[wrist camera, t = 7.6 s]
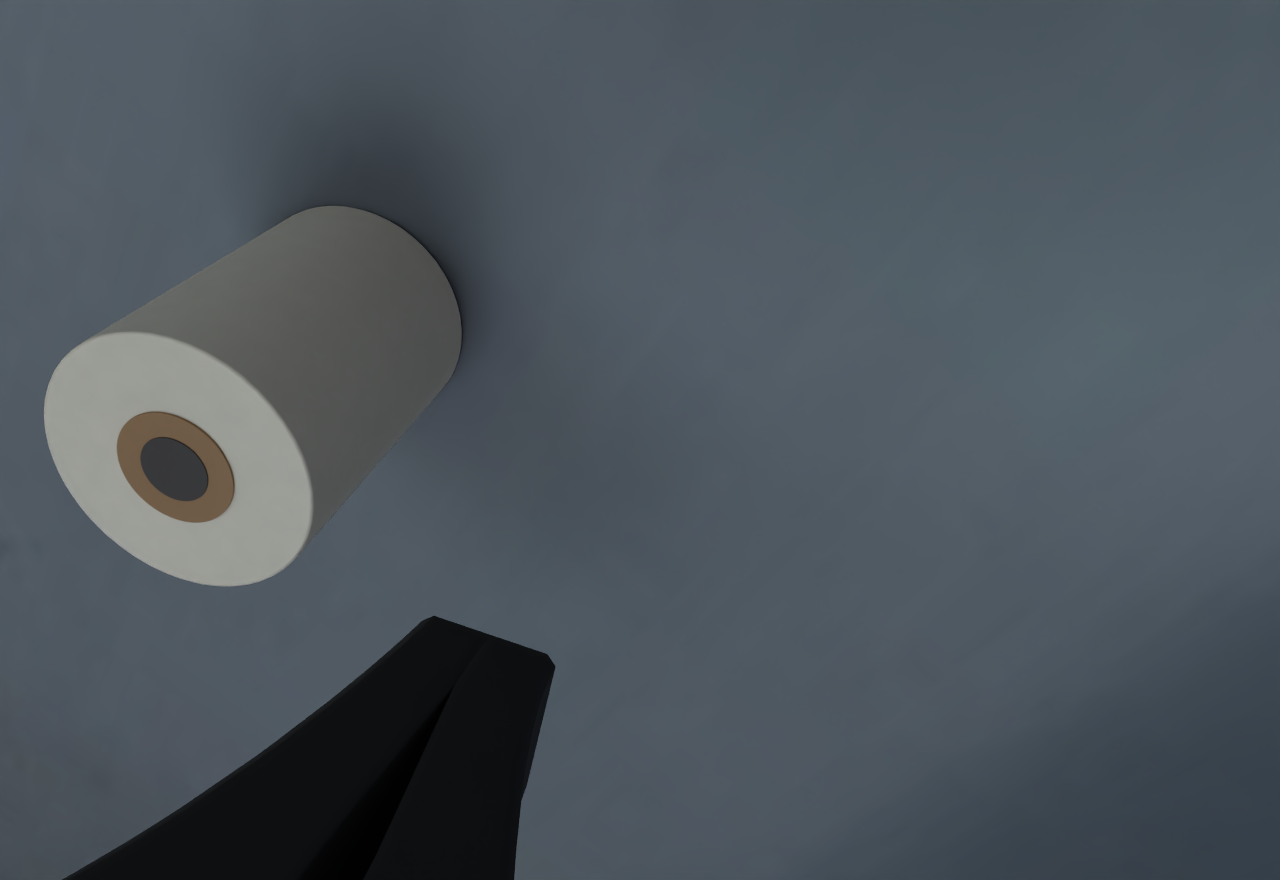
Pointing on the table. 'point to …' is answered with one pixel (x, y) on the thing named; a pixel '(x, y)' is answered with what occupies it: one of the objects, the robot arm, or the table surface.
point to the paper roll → (254, 394)
